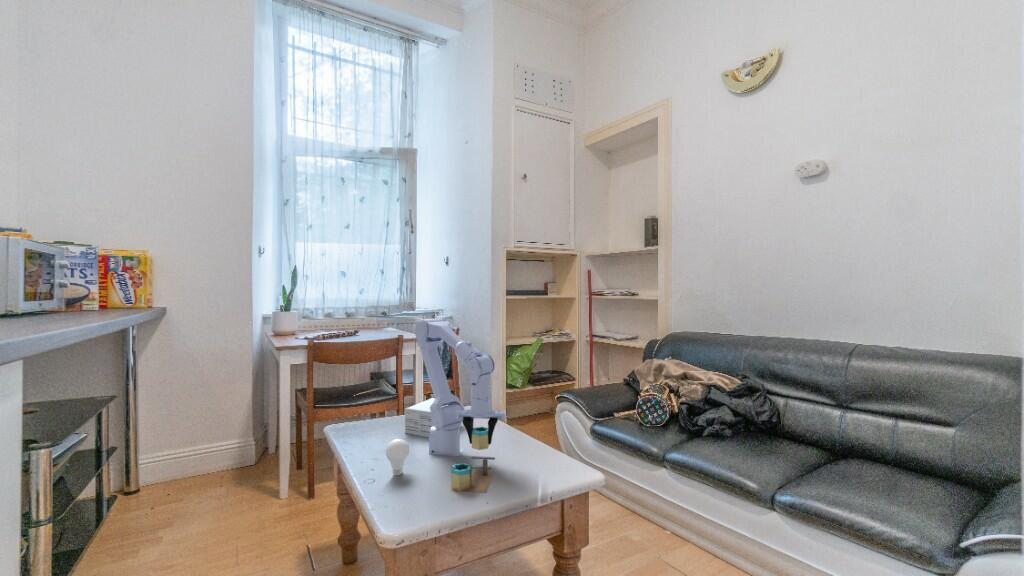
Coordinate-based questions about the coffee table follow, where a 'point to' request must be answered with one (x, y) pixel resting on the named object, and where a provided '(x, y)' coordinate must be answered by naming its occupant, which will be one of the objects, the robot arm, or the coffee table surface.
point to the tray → (481, 458)
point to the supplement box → (419, 418)
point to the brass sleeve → (480, 438)
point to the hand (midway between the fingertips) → (480, 442)
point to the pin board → (480, 479)
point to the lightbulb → (397, 454)
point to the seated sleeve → (461, 476)
